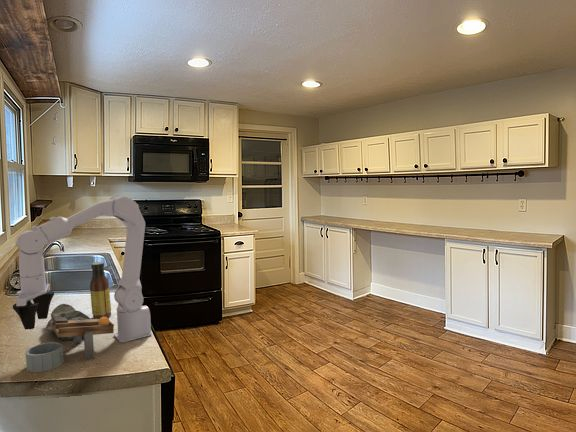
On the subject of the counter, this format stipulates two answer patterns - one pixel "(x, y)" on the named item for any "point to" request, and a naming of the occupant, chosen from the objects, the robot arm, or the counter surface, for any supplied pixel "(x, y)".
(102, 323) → the ball
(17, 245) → the robot arm
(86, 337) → the lever stand
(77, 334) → the lever
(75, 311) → the detergent
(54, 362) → the cup
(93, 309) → the sauce bottle
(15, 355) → the counter surface
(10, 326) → the counter surface
